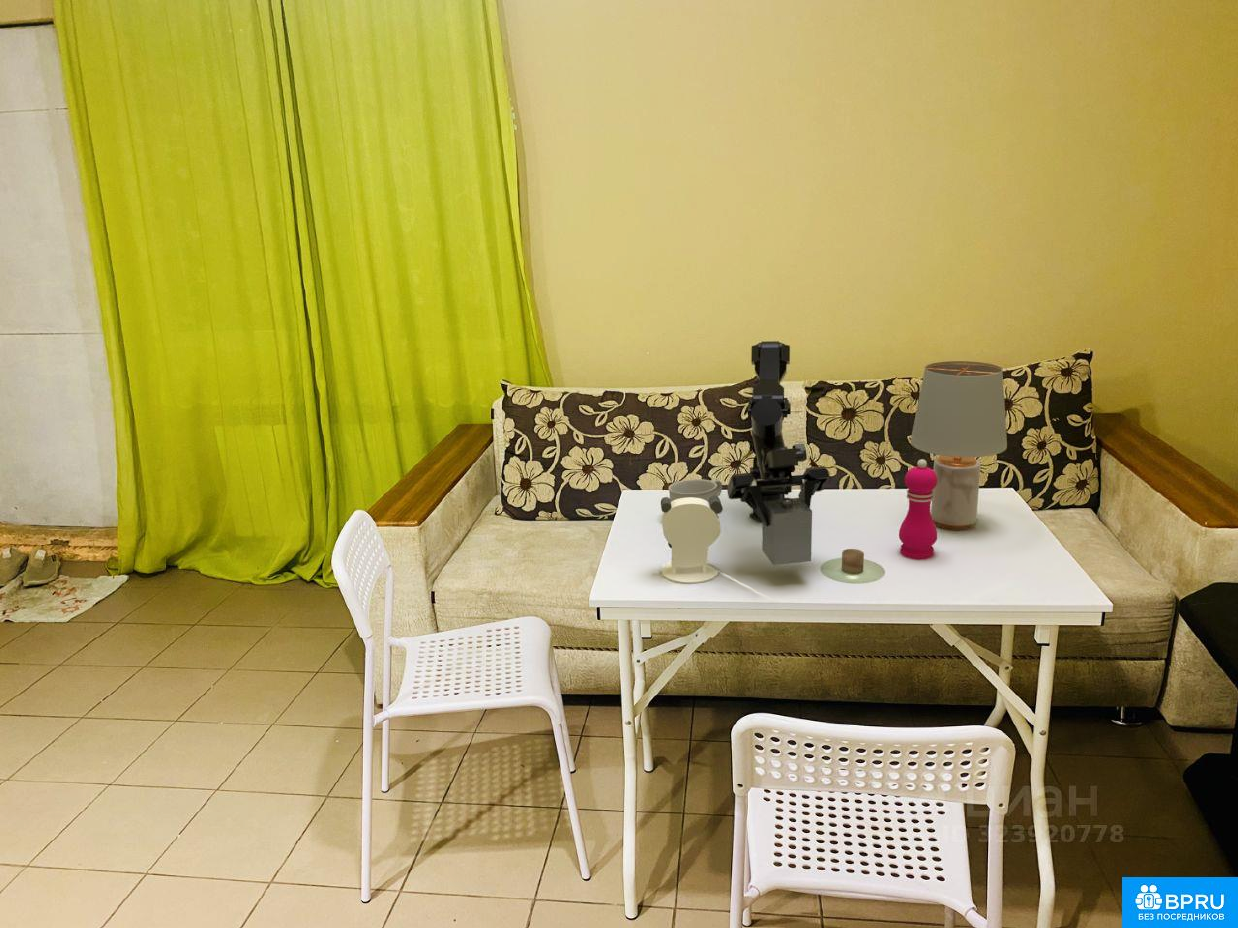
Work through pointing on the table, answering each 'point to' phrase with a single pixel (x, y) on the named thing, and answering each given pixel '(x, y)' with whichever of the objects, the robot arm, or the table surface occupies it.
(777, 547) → the cover
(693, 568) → the panda figurine
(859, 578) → the plate
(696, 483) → the teacup
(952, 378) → the lamp
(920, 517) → the pepper mill
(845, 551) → the wooden cylinder
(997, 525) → the table surface
